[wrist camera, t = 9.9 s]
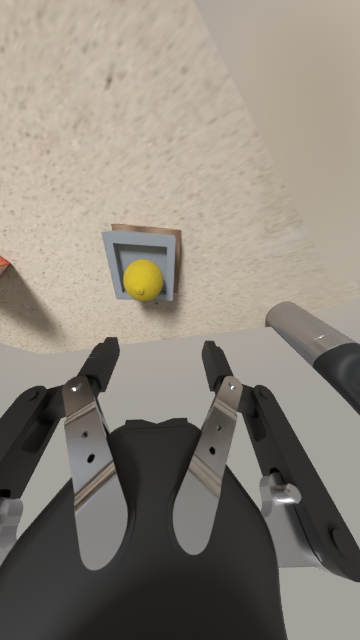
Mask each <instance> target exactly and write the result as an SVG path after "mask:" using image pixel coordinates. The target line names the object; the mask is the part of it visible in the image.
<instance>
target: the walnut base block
mask: <svg viewBox="0 0 360 640" xmlns="http://www.w3.org/2000/svg"><path fill="white" fill-rule="evenodd" d="M111 225H112V231H114V230H120V231H132V232H144V233H156V234H169V235H174V236H175V238H176V242H175V264H174V285H173V293H177V285H178V271H179V257H180V244H181V230H177V229H167V228H156V227H146V226H136V225H125V224H111Z"/></svg>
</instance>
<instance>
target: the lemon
mask: <svg viewBox="0 0 360 640" xmlns="http://www.w3.org/2000/svg"><path fill="white" fill-rule="evenodd" d="M123 283H124V287H125V290H126V291H127V293H128V294H129V295H130V296H131V297H132V298H134V299H136V300H138V301H150V300H152V299H154V298H155V297H156V296H157V295H158V294H159V293H160V291H161V289H162V286H163V275H162V272H161V270H160V269H159V267H158V266H157V265H156V264H155V263H153V262H151V261H149V260H145V259H141V260H136V261H134V262H132V263H131V264H130V265H129V266H128V267H127V269H126V270H125V273H124V278H123Z"/></svg>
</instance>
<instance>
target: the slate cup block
mask: <svg viewBox="0 0 360 640" xmlns="http://www.w3.org/2000/svg"><path fill="white" fill-rule="evenodd" d="M101 233H102V237H103V242H104V246H105V250H106V255H107V259H108V264H109V268H110V272H111V277H112V281H113V286H114V290H115V294H116V299H125V300H136V299H134V298H132V297H131V296H130V295H129V294H128V293H127V291H126V290H125V287H124V283H123V278H124V273H125V270H126V269H127V267H128V266H129V265H130V264H131V263H132V262H134V261H136V260H141V259H145V260H149V261H151V262H153V263H155V264H156V265H157V266H158V267H159V269H160V270H161V272H162V275H163V286H162V289H161V291H160V293H159V294H158V295H157V296H156V297H155V298H154V299H152V300H160V301H173V285H174V264H175V242H176V238H175V236H174V235H169V234H156V233H144V232H132V231H120V230H114V231H106V232H101Z"/></svg>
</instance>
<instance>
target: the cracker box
mask: <svg viewBox="0 0 360 640" xmlns="http://www.w3.org/2000/svg"><path fill="white" fill-rule="evenodd" d="M9 264H10V263H9V262H7V261H6V260H4V259H3V258H1V257H0V275H1V274H2V273H3V271H4V270H5V269H6V268H7V267H8V265H9Z"/></svg>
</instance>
